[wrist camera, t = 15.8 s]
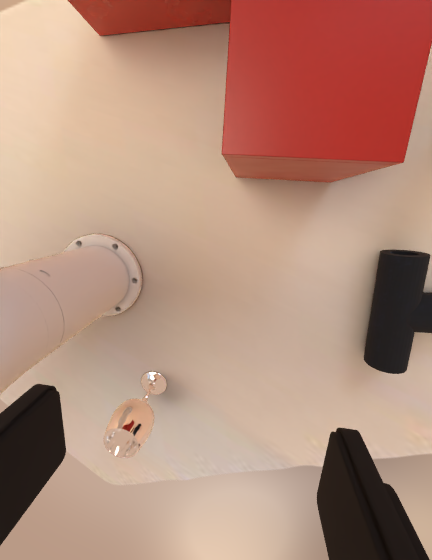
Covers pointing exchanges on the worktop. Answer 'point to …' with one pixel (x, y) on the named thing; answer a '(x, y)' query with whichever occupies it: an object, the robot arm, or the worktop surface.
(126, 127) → the worktop surface
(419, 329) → the pipe connector
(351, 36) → the valve cabinet
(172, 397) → the worktop surface
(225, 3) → the red cabinet door
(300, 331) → the worktop surface
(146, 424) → the wineglass
